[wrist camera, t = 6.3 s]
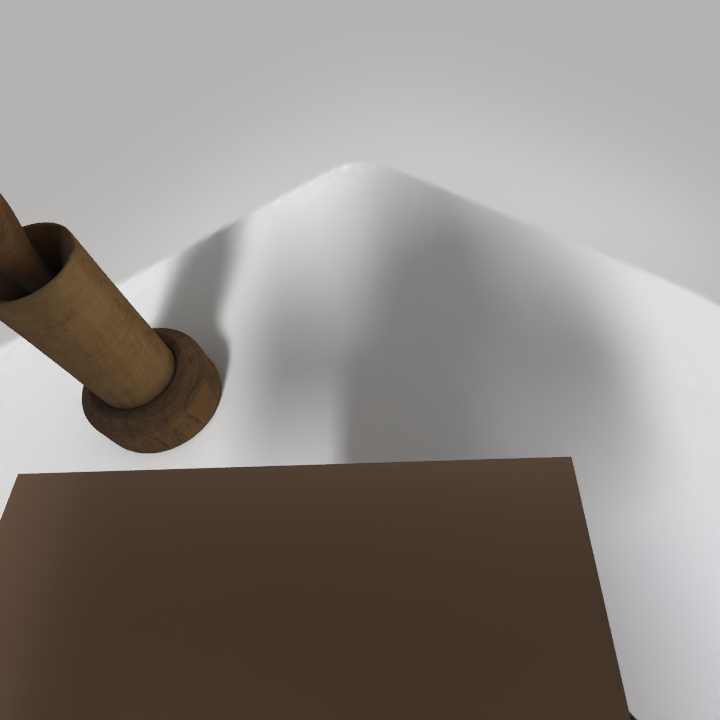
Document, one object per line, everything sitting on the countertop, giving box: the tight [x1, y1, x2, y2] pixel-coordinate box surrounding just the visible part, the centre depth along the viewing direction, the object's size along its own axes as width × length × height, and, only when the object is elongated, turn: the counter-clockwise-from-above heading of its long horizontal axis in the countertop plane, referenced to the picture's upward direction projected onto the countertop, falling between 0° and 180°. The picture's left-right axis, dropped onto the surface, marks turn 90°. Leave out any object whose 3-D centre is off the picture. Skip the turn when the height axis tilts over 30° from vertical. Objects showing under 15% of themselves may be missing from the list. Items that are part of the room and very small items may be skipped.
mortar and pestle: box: [0, 194, 221, 453], centre depth 19 cm, size 7×6×18 cm
